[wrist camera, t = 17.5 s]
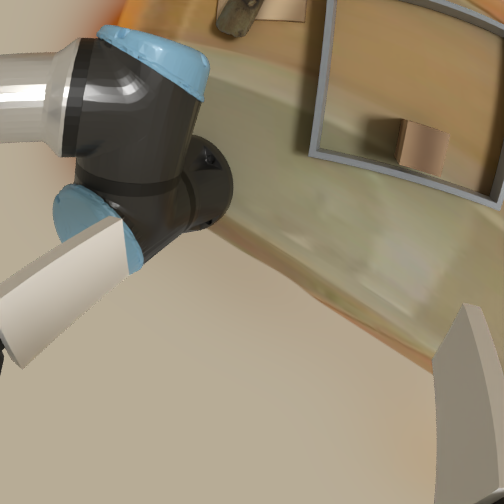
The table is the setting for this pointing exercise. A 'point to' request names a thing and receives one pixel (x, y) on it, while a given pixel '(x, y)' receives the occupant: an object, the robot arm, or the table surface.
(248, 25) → the stone
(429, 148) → the walnut block
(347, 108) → the table surface
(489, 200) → the parts tray
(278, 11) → the cork pad
